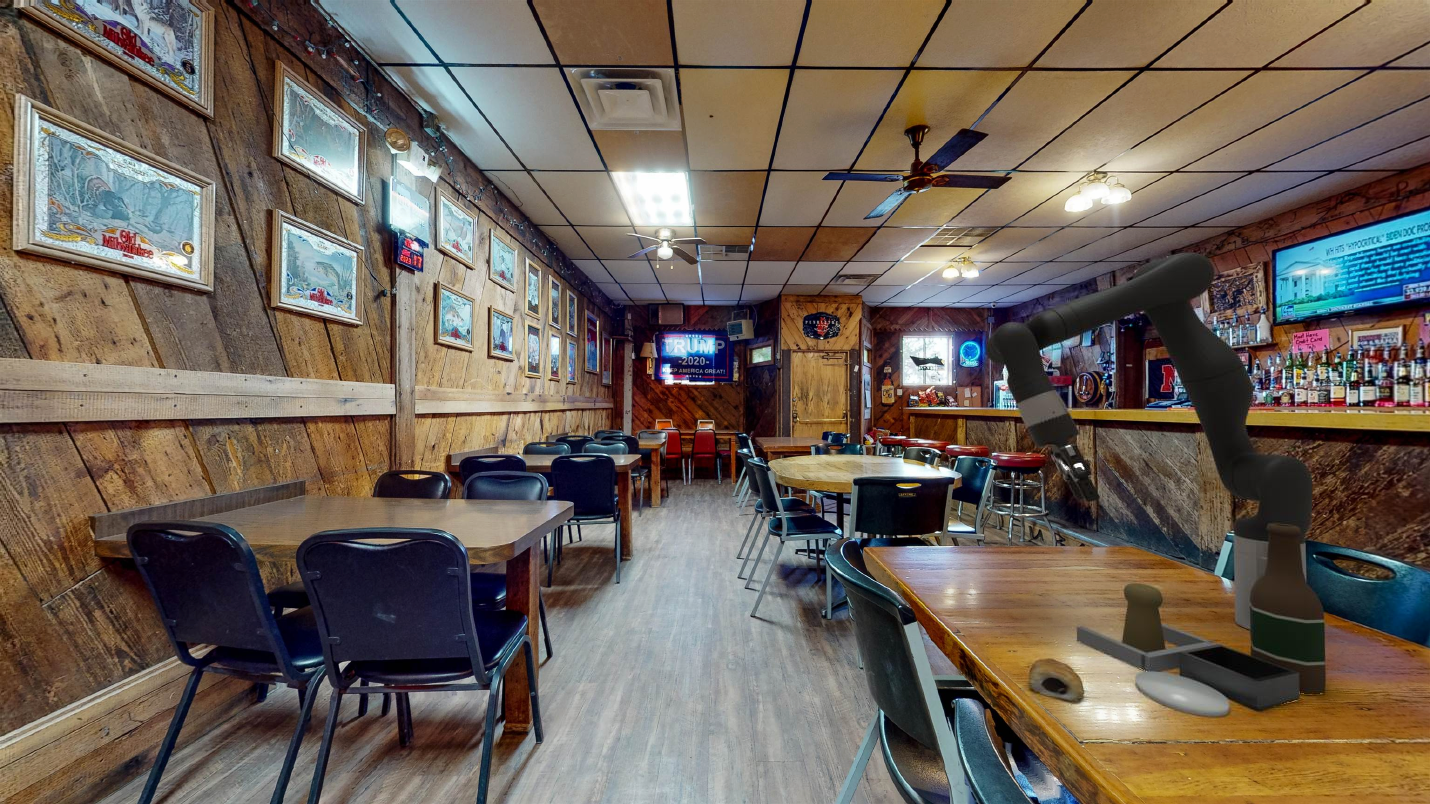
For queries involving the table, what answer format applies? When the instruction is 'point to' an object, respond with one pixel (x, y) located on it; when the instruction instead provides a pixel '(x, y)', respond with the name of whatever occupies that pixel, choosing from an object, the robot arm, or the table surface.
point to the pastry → (1055, 680)
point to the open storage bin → (1240, 676)
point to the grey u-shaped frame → (1139, 658)
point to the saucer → (1182, 694)
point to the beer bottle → (1288, 613)
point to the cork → (1143, 618)
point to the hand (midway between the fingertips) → (1088, 499)
